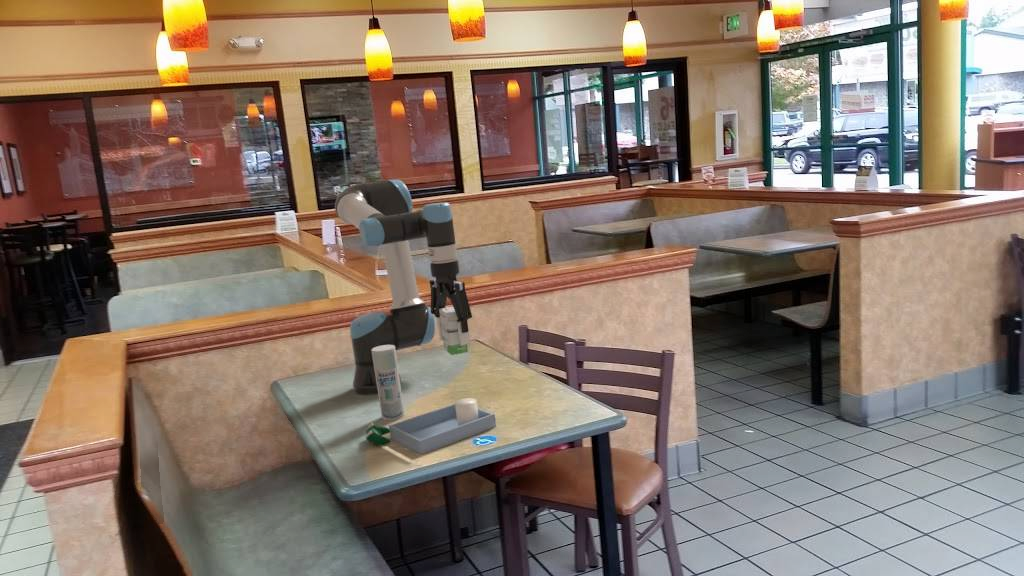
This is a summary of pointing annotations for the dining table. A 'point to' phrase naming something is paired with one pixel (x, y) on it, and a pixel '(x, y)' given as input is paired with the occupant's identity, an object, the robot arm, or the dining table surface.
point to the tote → (438, 429)
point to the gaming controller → (377, 435)
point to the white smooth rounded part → (466, 410)
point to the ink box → (451, 331)
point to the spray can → (388, 382)
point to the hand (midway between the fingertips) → (454, 341)
